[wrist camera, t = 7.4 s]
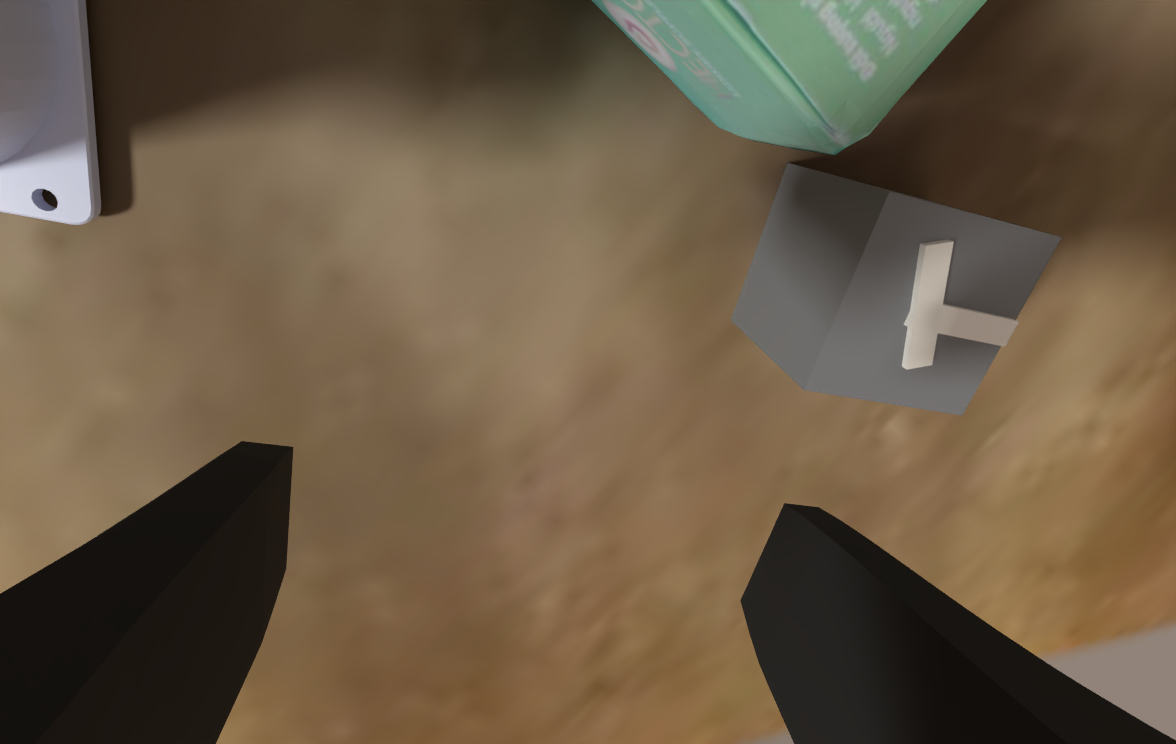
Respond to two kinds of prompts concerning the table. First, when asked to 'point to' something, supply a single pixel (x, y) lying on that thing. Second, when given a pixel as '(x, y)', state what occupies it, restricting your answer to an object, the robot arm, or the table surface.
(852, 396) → the charcoal cube
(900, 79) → the box
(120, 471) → the table surface
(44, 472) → the table surface
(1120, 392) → the table surface
